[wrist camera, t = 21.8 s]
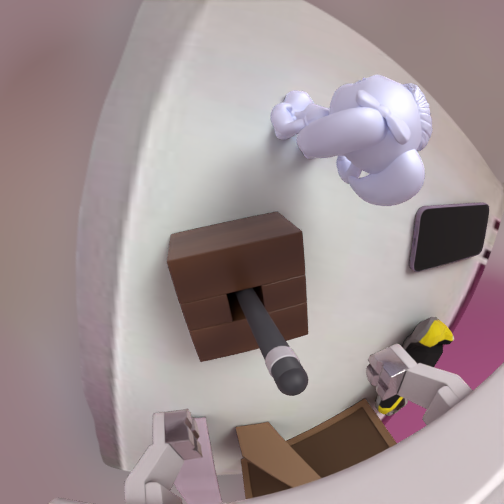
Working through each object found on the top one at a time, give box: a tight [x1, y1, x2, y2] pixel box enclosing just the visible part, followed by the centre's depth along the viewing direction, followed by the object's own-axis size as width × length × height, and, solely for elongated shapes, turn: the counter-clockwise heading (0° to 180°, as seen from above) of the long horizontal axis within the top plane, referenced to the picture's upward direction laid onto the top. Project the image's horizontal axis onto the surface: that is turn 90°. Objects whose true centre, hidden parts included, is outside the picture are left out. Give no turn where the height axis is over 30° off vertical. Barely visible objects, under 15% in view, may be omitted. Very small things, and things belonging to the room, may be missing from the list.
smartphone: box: [410, 203, 489, 272], centre depth 26 cm, size 7×1×15 cm
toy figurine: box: [271, 75, 432, 206], centre depth 14 cm, size 7×6×12 cm
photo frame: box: [236, 398, 397, 499], centre depth 22 cm, size 15×22×25 cm
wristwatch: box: [375, 398, 408, 416], centre depth 36 cm, size 4×6×5 cm
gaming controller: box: [376, 317, 454, 414], centre depth 30 cm, size 15×6×10 cm
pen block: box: [167, 212, 308, 362], centre depth 20 cm, size 8×8×5 cm
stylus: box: [235, 288, 308, 396], centre depth 16 cm, size 1×1×14 cm
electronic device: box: [174, 417, 222, 504], centre depth 25 cm, size 10×5×10 cm, turn 178°
